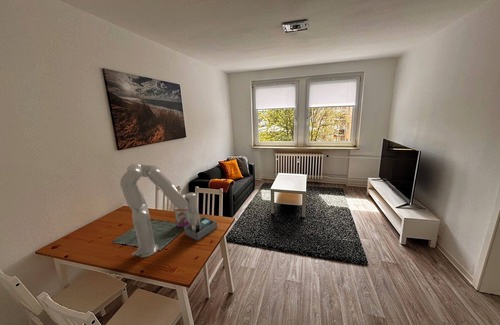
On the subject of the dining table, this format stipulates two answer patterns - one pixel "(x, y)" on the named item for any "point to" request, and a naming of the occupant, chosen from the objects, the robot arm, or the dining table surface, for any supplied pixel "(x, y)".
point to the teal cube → (205, 224)
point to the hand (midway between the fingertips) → (195, 230)
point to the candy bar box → (181, 217)
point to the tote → (201, 229)
